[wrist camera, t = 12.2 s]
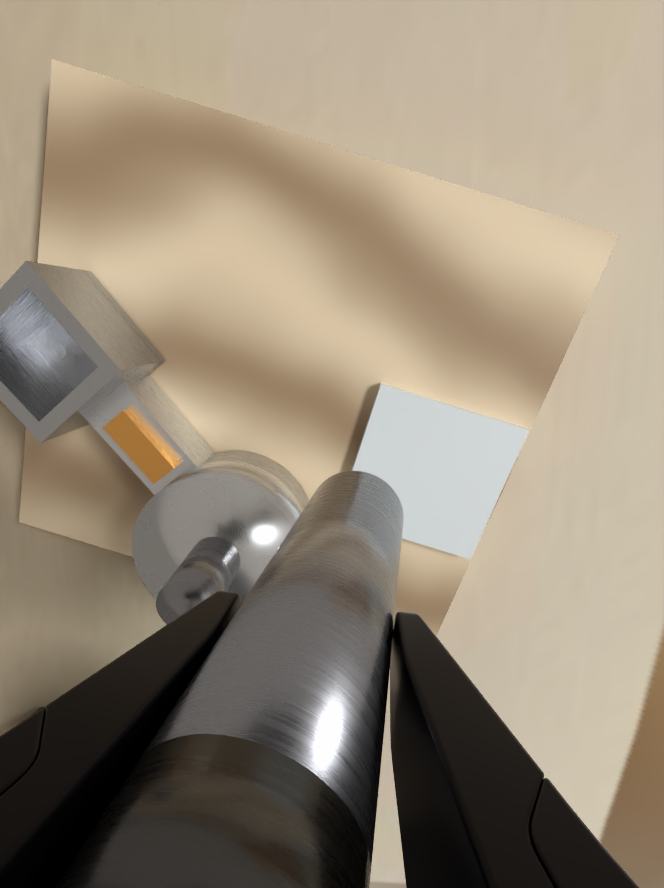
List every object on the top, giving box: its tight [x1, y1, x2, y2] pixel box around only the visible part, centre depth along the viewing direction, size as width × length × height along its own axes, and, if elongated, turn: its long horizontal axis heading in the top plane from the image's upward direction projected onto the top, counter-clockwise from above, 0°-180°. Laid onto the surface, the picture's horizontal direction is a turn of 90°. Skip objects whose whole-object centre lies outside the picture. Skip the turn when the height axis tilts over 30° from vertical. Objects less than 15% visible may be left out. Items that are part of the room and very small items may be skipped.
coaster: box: [351, 383, 529, 559], centre depth 19 cm, size 6×6×1 cm
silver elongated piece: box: [0, 261, 309, 625], centre depth 17 cm, size 16×7×6 cm, turn 38°
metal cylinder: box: [55, 471, 404, 888], centre depth 8 cm, size 3×3×10 cm
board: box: [19, 59, 619, 636], centre depth 19 cm, size 20×22×2 cm
